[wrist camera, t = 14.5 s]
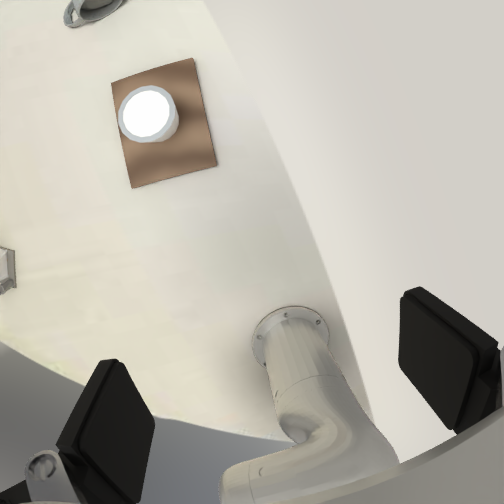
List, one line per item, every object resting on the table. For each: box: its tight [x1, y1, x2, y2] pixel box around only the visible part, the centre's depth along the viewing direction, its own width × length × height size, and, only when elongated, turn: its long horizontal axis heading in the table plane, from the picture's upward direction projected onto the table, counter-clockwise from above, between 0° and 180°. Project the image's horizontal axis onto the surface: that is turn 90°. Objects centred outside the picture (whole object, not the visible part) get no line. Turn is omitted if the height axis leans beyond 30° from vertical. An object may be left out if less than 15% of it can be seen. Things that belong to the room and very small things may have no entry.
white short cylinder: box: [118, 85, 179, 143], centre depth 33 cm, size 7×7×7 cm
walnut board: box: [111, 58, 217, 189], centre depth 37 cm, size 16×12×2 cm
